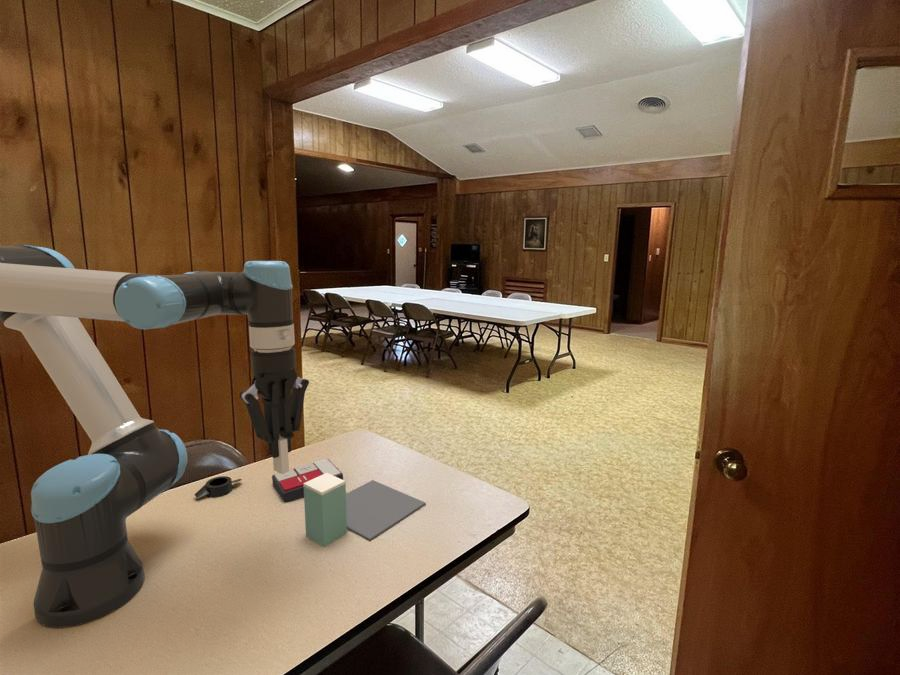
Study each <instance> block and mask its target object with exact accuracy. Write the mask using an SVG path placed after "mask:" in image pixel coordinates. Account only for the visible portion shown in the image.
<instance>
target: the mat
mask: <svg viewBox="0 0 900 675" xmlns="http://www.w3.org/2000/svg"><path fill="white" fill-rule="evenodd" d="M426 505H427V504H426V502H425V501H423V500H420V499H418V498H416V497H413V496H411V495H409V494H407V493H404V492H402V491H399V490H398V489H394V488H393V487H389V486H388V485H385V484H383V483H380V482H378V481H375V480H374V479H372V480H370V481H368V482H366V483H364V484H362V485H360V486H359V487H357V488H354V489H352V490H350V491H349V492H346V516H347V531H348V530H349V531H350V532H352V533H354V534H356V535H358V536H360V537H362V538H363V539H365V540H367V541H369V542H371V541H373V540H374V539H376V538H377V537H379V536H380V535H382V534H384V532H386V531H388V530H389V529H391V528H393V527H394V526H395V525H397V524H398V523H400V522H402V521H404V520H405V519H406V518H407V517H409V516H411V515H412V514H414V513H415V512H417V511H418V510H420V509H422V508H423V507H424V506H426Z"/></svg>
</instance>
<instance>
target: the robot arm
mask: <svg viewBox="0 0 900 675" xmlns="http://www.w3.org/2000/svg"><path fill="white" fill-rule="evenodd" d="M293 288H294V286H293V283H292V277H291V270H290V265H289V264H288V263H287V262H286V261H283V260H282V261H281V260H250V261H249V260H247V261H245V263H244V265H243V270H242V271H238V272H235V271H234V272H233V271H232V272H230V271H228V272H227V271H207V270H205V271H204V270H200V271H197V270H196V271H188V272H185V273H180V274H151V273H150V274H149V273H135V272H134V273H133V272H124V271H123V272H121V271H109V270H97V269H96V270H95V269H83V268H82V269H81V268H75V266H74V265H73V264H72V262H71V261H70V260H69V259H68V258H67V257H65V256H64V255H63V254H61V253H60V252H58V251H56V250H54V249H51V248H49V247H48V248H47V247H44V246H43V247H42V246H34V245H30V244H19V245H18V244H17V245H0V321H1V322H2V324H3V325H4V327H5V328H7V329H11V330H16V331H18V332H21V334H22V335H23V337H24V338H25V340H26V341H27V343H28V345H29V346H30V348H31V349H32V351H33V352H34V354H35V355H36V357H37V358H38V360H39V362H40V363H41V365H42V366H43V368H44V370H45V372H47V374H48V375H49V377H50V379H51V380H52V382H53V383H54V385H55V387H56V389H57V390H58V391H59V393H60V394H61V396H62V397H63V399H64V400H65V402H66V403H67V405H68V407H69V408H70V410H71V411H72V413H73V414H74V416H75V417H76V420H78V422H79V424H80V425H81V427H82V429H83V430H84V431H85V434H87V436H88V437H89V439H90V441H91V445H90V448H89V450H88V453H87V455H82V456H78V457H77V458H75V459H67V460H65V461H63V462H61V463H58V464H57V465H55V466H53V467H51V468H50V469H48V470H46V471H45V472H44V473H42V474H41V475H40V476H39V477H38V478H37V479H36V481H35V482H33V485H32V488H31V491H30V496H31V497H30V498H31V506H30V512H31V516H32V517H33V521H34V522H33V523H34V527H35V532H36V538H37V543H38V549H39V556H40V562H41V571H40V576H39V579H38V584H37V588H36V591H35V596H34V599H33V610H34V616H35V620H36V621H37V623H39V624H41V625H42V626H45V627H49V628H67V627H73V626H77V625H82V624H85V623H89V622H92V621H94V620H96V619H99V618H101V617H104V616H106V615H108V614H110V613H112V612H113V611H115V610H117V609H118V608H120V607H122V606H124V605H125V604H126V603H127V602H129V601H130V600H131V599H132V598H133V597H135V596H136V594H138V592H139V591H140V589H141V588H142V586H143V584H144V583H145V570H144V569H145V568H144V564H143V562H142V559H140V557H139V555H138V554H137V552H136V551H135V549H134V547H133V546H132V545H131V543H130V541H129V538H128V531H127V523H126V520H127V518H128V517H130V516H131V515H132V514H134V513H135V512H137V511H138V510H139V509H142V507H144V506H145V505H147V504H148V503H149V502H151V501H152V500H154V499H155V498H157V497H158V496H159V495H161V494H163V493H164V492H167V491H168V490H170V489H171V487H173V485H174V484H176V483H177V482H179V480H180V479H181V478H182V477H183V475H184V473H185V472H186V467H187V464H188V452H187V448H186V445H185V444H184V441H183V440H182V439H181V438H180V437H179V436H178V435H177V434H176V433H174V432H171V431H170V430H168V429H160V428H158V426H157V425H156V423H155V421H154V420H153V419H151V420H150V419H148V418H147V419H146V418H143V417H141V416H140V414H139V413H138V411H137V409H136V408H135V406H134V405H133V403H132V401H131V399H130V398H129V397H128V395H127V393H126V392H125V391H124V389H123V387H122V386H121V384H120V383H119V381H118V379H117V378H116V376H115V374H114V373H113V371H112V369H111V368H110V366H109V365H108V363H107V362H106V360H105V358H104V357H103V355H102V354H101V352H100V350H99V349H98V348H97V346H96V345H95V344H96V343H94V341H93V339H92V338H91V336H90V335H89V333H88V331H87V330H86V328H85V327H84V325H83V324H82V322H81V320H80V319H89V320H90V319H91V320H101V321H114V322H125V323H127V324H128V325H129V326H131V327H132V328H135V329H138V330H151V329H164V328H167V327H168V328H169V327H170V326H173V325H178V324H182V323H186V322H190V321H195V320H200V319H204V318H208V317H213V316H218V315H220V316H221V315H225V316H226V315H227V316H228V315H231V316H232V315H240V316H244V315H245V316H246V315H247V320H248V321H247V322H248V335H249V336H248V337H249V347H250V348H251V349H252V350H251V351H250V359H251V360H250V361H251V370H252V374H253V375H252V376H253V377H252V379H251V386H250V387H249V388H248V389H247V390H246V391H240V393H239V398H240V399H241V400H242V401H243V403H245V406H246V408H247V411H248V414H249V418H250V421H251V424H252V426H253V429H254V432H255V436H256V437H257V438H258V439H259V440H262V441H264V442H266V443H267V445H268V446H267V447H268V455H269V456H270V457H272V461H273V462H272V463H273V471H275V473H277V472H279V473H281V474H284V473H287V472H289V469H290V465H289V464H290V461H289V453H291V451H292V442H291V440H292V439H293V438H294V436H295V432H298V431H299V430H300V428H301V423H302V422H301V421H302V414H303V408H304V402H305V396H306V395H305V394H306V391H307V388H308V386H309V383H310V381H309V379H307V378H302V377H299V376H298V372H297V370H296V367H297V354H296V349H295V348H294V347H293V346H294V345H295V344H296V340H295V337H296V336H295V324H294V310H293V309H294V307H293V306H294V305H293V304H294V303H293ZM258 394H259V395H260V396H261V402H262V404H263V409H262V408H261V404H260V402H259V400H258V399H259V396H258ZM263 411H264V412H263ZM263 413H264V414H263ZM257 438H256V439H257Z"/></svg>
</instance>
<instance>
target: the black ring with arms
mask: <svg viewBox="0 0 900 675" xmlns="http://www.w3.org/2000/svg"><path fill="white" fill-rule="evenodd" d="M241 481H243V479H242V478H238V479H234V480H232V478H231V477H230V476H227V475H226V476H225V475H223V476H221V475H220V476H216V477H213V478H211V479H208V480H207V481H206V482H205V484H204V485H203V486H201V487H200V489H198V491H196V492H195V493H194V497H195V498H197V499H199V498H202V497H205V496H207V497H208V498H214V499H216V498H221V497H225V496H227V495H228V494H230V493H231V492H232V491H233V484H234V483H238V482H241Z"/></svg>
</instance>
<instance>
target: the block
mask: <svg viewBox="0 0 900 675" xmlns="http://www.w3.org/2000/svg"><path fill="white" fill-rule="evenodd" d="M303 485H304V498H303V501H304V502H303V504H304V505H303V506H304V519H305V520H304V524H305V536H306V537H307V538H309V539H310V540H312V541H314V542H315V543H317V544H319V545H320V546H322V547H325V548H326V546H328V545H330V544H332V543H333V542H335V541H336V540H338V539H339V538H341V537H343V536H344V535H345V536H346V534H347V533H348V529H347V516H346V494H347V492H346V488H347V486H346V480H344V479H343V480H342V479H340V478H338V477H335V476H333V475H331V474H329V473H325V474H323V475H321V476H319V477H316V478H314V479H312V480H310V481H308V482H305V483H303Z"/></svg>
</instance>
